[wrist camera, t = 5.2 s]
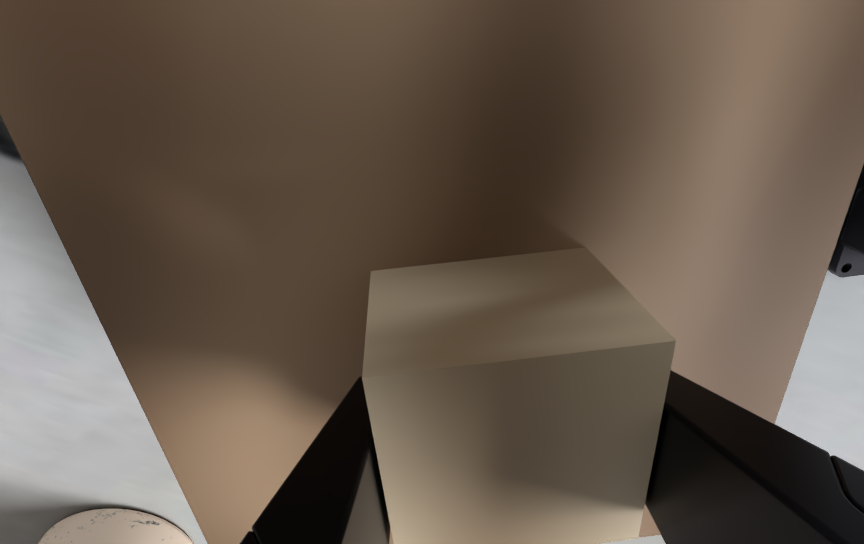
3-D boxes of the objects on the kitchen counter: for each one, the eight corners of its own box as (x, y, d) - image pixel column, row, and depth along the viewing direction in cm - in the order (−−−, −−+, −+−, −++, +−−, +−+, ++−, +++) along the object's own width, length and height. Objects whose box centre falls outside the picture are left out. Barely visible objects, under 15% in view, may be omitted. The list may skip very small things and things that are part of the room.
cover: (902, -100, 7) (1365, -230, 4) (721, 498, 13) (833, 651, 10) (-21, -23, 7) (-451, -93, 3) (239, 562, 13) (186, 745, 10)
